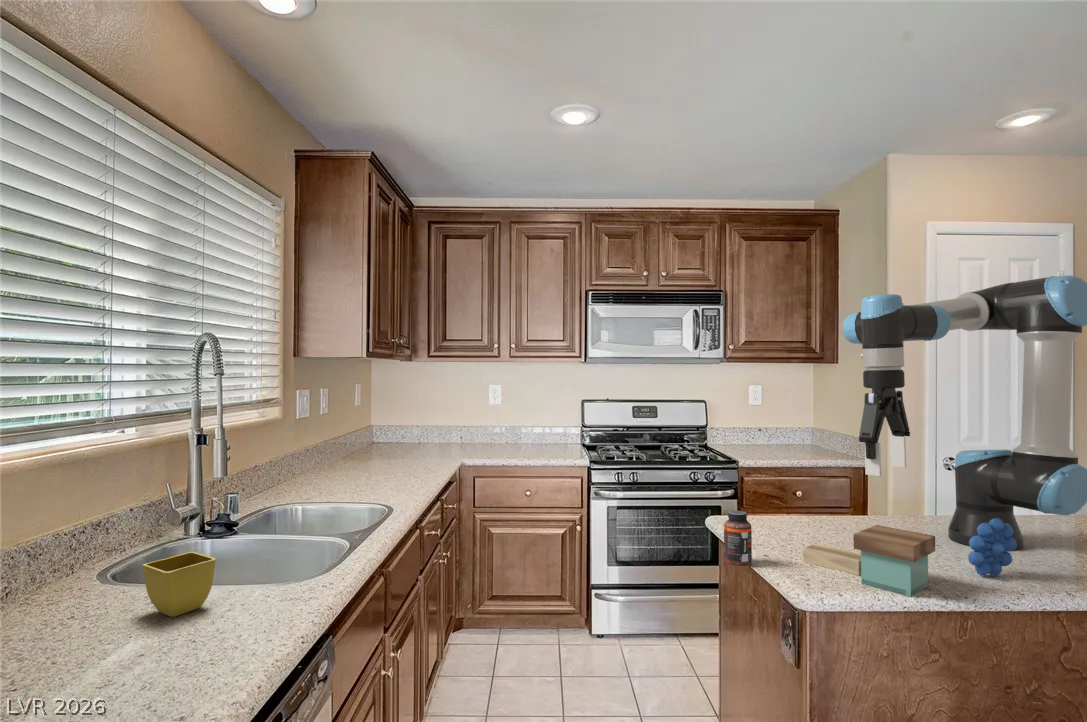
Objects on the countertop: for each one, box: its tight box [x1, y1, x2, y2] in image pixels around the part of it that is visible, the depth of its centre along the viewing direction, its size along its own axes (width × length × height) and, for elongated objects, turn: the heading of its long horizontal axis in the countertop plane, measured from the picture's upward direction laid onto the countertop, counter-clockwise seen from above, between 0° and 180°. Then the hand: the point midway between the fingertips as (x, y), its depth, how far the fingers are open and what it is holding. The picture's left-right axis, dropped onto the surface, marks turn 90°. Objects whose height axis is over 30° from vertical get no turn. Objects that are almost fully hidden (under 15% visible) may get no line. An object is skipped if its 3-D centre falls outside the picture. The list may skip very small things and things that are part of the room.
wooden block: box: [802, 543, 861, 576], centre depth 132 cm, size 6×12×3 cm, turn 39°
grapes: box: [967, 518, 1017, 577], centre depth 126 cm, size 12×7×12 cm, turn 103°
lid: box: [853, 524, 936, 562], centre depth 120 cm, size 11×11×3 cm
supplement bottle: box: [723, 510, 753, 567], centre depth 134 cm, size 6×6×11 cm
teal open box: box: [860, 550, 929, 598], centre depth 120 cm, size 9×9×7 cm
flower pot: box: [142, 551, 216, 618], centre depth 108 cm, size 9×9×9 cm
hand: (886, 470), depth 124 cm, fingers open, 13 cm apart
